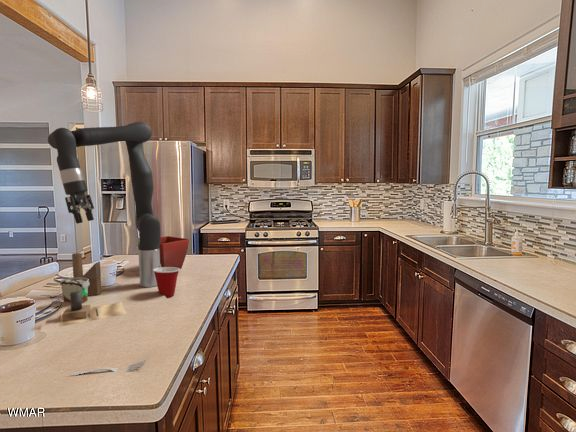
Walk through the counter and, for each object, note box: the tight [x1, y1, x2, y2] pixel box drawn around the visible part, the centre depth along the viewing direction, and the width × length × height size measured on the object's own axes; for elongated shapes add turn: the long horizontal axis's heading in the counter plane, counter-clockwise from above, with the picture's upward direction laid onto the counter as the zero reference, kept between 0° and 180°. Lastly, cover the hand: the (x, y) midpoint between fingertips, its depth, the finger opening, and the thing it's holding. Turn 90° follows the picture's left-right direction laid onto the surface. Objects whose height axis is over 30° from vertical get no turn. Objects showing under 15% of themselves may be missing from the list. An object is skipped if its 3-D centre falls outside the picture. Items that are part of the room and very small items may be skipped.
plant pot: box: [159, 235, 190, 270], centre depth 190 cm, size 19×19×17 cm
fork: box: [72, 359, 147, 376], centre depth 87 cm, size 3×24×2 cm, turn 103°
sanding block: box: [62, 291, 91, 321], centre depth 120 cm, size 7×7×8 cm
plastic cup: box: [153, 267, 181, 299], centre depth 146 cm, size 11×11×12 cm
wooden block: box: [71, 252, 102, 296], centre depth 148 cm, size 4×11×18 cm, turn 92°
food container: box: [59, 277, 90, 305], centre depth 136 cm, size 12×6×10 cm, turn 71°
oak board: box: [59, 301, 128, 327], centre depth 123 cm, size 20×14×2 cm
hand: (85, 221), depth 134 cm, fingers open, 8 cm apart
